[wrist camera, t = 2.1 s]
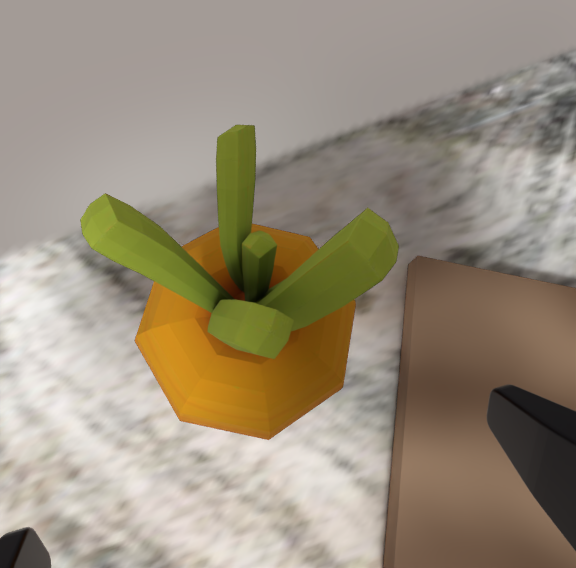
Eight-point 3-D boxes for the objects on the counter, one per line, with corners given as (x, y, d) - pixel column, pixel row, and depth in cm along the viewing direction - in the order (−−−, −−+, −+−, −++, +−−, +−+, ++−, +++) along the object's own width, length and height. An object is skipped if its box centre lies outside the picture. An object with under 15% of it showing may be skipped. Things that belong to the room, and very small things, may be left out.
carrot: (163, 391, 19) (-77, 268, 4) (232, 302, 20) (216, 1, 6) (257, 460, 18) (325, 568, 4) (320, 363, 20) (527, 191, 6)
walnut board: (665, 633, 18) (694, 647, 16) (381, 585, 17) (391, 596, 16) (631, 310, 22) (652, 303, 21) (408, 264, 22) (417, 255, 21)
